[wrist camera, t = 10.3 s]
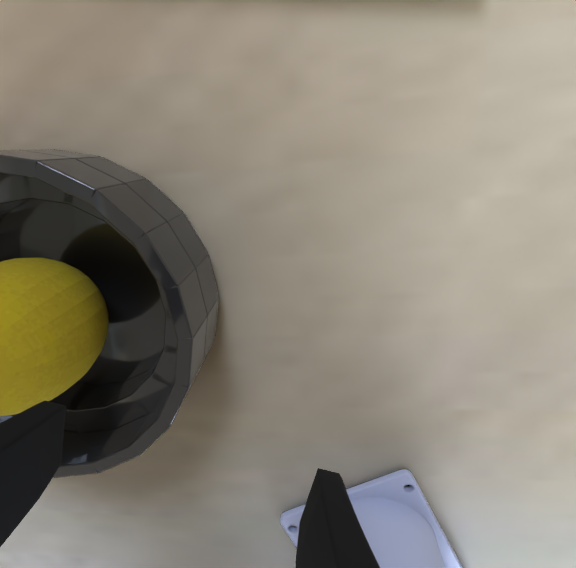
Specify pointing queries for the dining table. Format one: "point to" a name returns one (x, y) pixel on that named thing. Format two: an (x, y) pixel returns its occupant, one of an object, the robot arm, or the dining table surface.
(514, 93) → the dining table surface
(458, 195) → the dining table surface
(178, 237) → the bowl
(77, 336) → the lemon
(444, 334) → the dining table surface
